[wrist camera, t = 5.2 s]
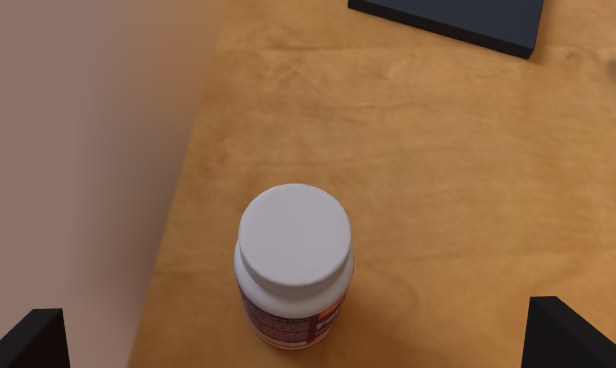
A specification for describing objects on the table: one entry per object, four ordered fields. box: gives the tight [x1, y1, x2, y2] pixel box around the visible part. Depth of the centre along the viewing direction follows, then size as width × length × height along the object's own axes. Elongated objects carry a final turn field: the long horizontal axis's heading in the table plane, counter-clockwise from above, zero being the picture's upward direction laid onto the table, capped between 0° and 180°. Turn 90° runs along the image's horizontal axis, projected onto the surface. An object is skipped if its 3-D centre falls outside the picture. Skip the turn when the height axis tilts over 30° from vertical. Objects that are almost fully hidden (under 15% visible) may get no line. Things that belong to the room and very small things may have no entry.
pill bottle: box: [234, 184, 354, 349], centre depth 19 cm, size 5×5×8 cm
